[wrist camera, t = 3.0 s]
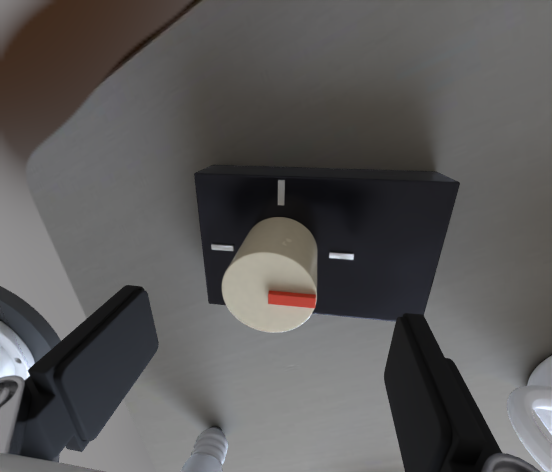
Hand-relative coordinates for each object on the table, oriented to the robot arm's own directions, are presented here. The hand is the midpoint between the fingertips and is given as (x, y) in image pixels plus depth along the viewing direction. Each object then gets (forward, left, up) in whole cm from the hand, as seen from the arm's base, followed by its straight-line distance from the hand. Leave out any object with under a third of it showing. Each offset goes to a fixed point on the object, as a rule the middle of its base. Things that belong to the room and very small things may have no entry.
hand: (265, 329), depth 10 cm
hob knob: (0, 0, -7) cm, 7 cm away
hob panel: (+2, 0, -10) cm, 10 cm away
